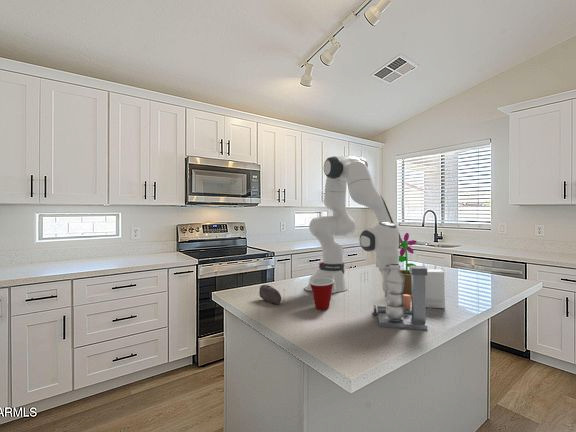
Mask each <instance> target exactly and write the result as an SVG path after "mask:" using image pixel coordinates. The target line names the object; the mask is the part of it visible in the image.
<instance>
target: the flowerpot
mask: <svg viewBox="0 0 576 432" xmlns="http://www.w3.org/2000/svg"><path fill="white" fill-rule="evenodd" d="M409 239H410V234H409V232H406V233H404V235H403V238H401V243H400V245H399V247H398V249H399V263H403V262H405V269H401V270H400V272H401V273H402V274H403V276H404V278H405V282H404V288H403V294H407V295H410V296H411V273H410V272H409V266H417V264H415V263H410V262H409V263H408V261H409V260H408V253H410V254H412V255H413V254H415V252H414V249H413V248H412V247H411V246H413V245H416V244H417V243H418V242H417V241H418V240H413V239H411V240H409ZM408 240H409V241H408ZM404 255H405V256H404Z"/></svg>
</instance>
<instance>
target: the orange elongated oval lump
mask: <svg viewBox="0 0 576 432" xmlns="http://www.w3.org/2000/svg"><path fill="white" fill-rule="evenodd" d="M403 304H404V309H405V310H411V311H412V296H411V295H407V294H403Z"/></svg>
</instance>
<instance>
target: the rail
mask: <svg viewBox="0 0 576 432" xmlns="http://www.w3.org/2000/svg"><path fill="white" fill-rule="evenodd" d="M386 306H387V305H375V304H374V305H373V316H377V317H378V312H379V313H386ZM405 314H411V315H412V311H411V310H405Z"/></svg>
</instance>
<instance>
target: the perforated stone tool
mask: <svg viewBox="0 0 576 432" xmlns="http://www.w3.org/2000/svg"><path fill="white" fill-rule="evenodd" d="M258 292H259V293H258V294H259V296H260V298H261V299H262V300H264V301H265V300H266V301H265V302H268V301H269V302H268V303H270V302H272V303H271V304H274V303H275V305H279V304H281V302H282V295H281V294H280V292H279V291H278V290H277V289H276V288H274V287H273V286H270V285H268V284H262V285H260V286H259V291H258Z"/></svg>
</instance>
